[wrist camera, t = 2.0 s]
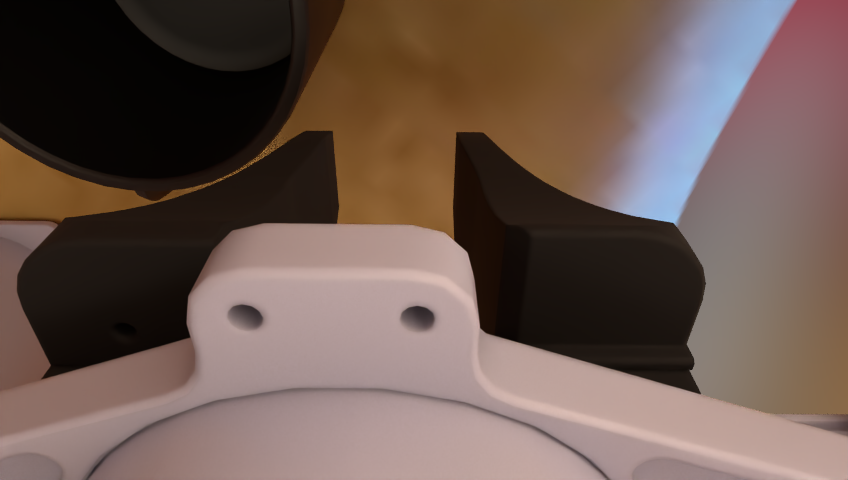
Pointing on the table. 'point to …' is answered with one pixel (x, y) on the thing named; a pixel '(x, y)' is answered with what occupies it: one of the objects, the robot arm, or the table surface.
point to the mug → (154, 84)
